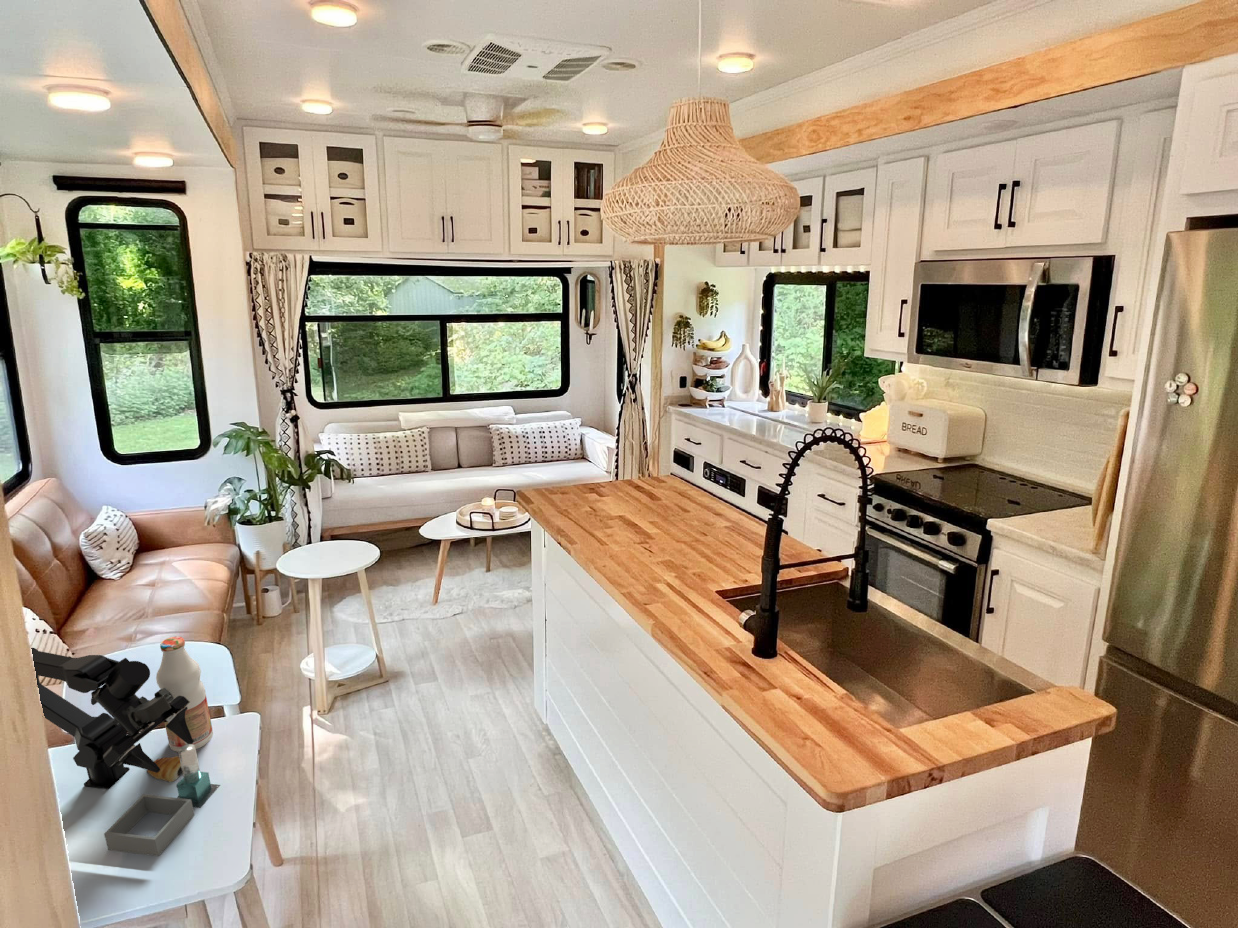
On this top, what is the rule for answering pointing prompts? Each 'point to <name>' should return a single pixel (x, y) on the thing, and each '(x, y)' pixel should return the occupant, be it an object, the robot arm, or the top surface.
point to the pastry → (167, 769)
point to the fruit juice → (185, 691)
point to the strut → (192, 776)
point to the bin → (146, 803)
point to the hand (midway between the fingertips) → (176, 756)
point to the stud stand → (206, 797)
